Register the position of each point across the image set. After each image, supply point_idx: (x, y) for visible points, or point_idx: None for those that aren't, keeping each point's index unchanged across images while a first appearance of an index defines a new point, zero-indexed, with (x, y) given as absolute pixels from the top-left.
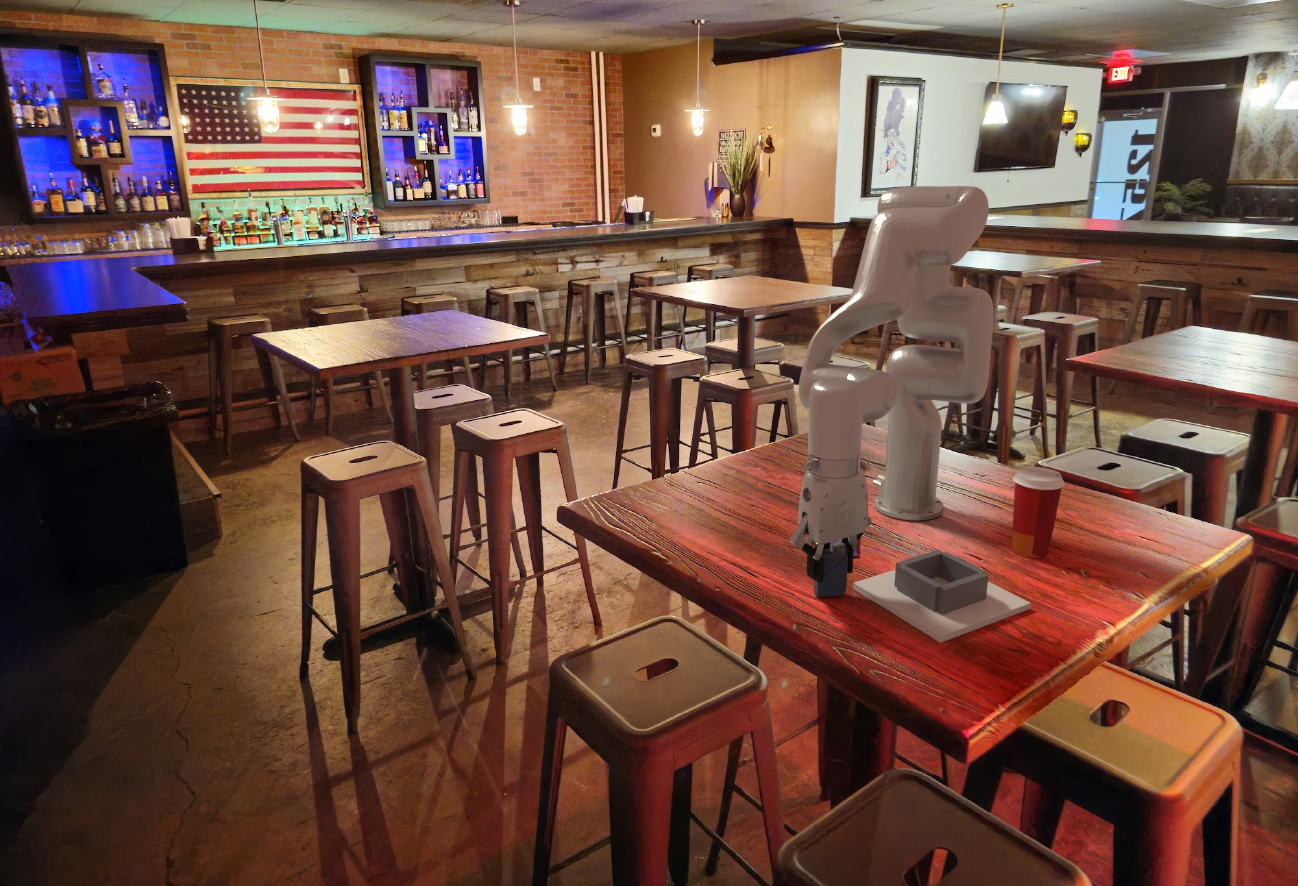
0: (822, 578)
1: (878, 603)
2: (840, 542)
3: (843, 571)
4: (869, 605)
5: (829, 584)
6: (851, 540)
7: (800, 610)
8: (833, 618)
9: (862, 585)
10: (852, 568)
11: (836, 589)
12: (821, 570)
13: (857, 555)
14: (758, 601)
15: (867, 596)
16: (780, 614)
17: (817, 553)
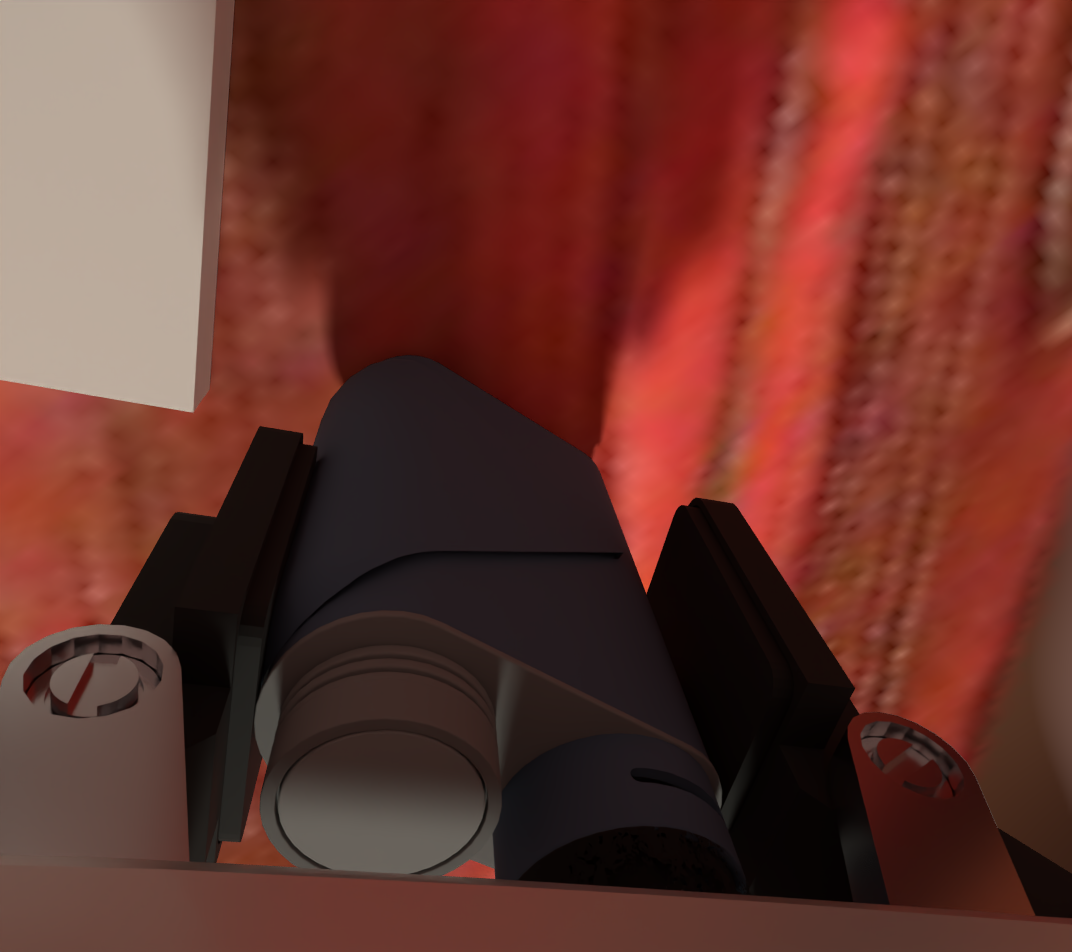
0: (717, 518)
1: (232, 6)
2: (281, 849)
3: (425, 463)
4: (329, 68)
5: (544, 473)
6: (153, 782)
7: (835, 439)
8: (783, 167)
9: (152, 320)
10: (258, 446)
11: (478, 410)
12: (775, 582)
13: None
14: (898, 685)
15: (218, 190)
16: (974, 493)
17: (951, 804)
